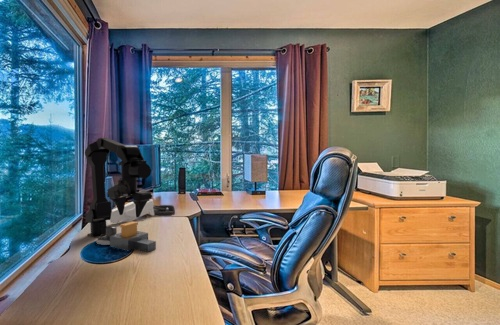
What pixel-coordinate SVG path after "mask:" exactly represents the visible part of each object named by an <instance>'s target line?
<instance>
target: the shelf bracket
mask: <svg viewBox="0 0 500 325" xmlns="http://www.w3.org/2000/svg"><path fill="white" fill-rule="evenodd" d="M154 205H155V203H154V199H149V201H147V203H146V204H145V206H144V208H143V210H142V212H141V214H140V216H139V217H138V218H141V217H143V216H145V215H147V214H148V215H149V214H150V215H149V216H152V217H153V216H154V217H155V216H156V215H154V209H153V206H154ZM138 218H137V217H136V208H135V204H134V202H133V201H131V202H128V203H125V206H124V211H123V214H122V215H120V214H119V211H118V209H117V207H115V208H113V209H112V213H111V218H110V220H109V222H110V223H112V224H118V223H120V222H124V223H128V222H132V221H135V220H137V219H138Z"/></svg>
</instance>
